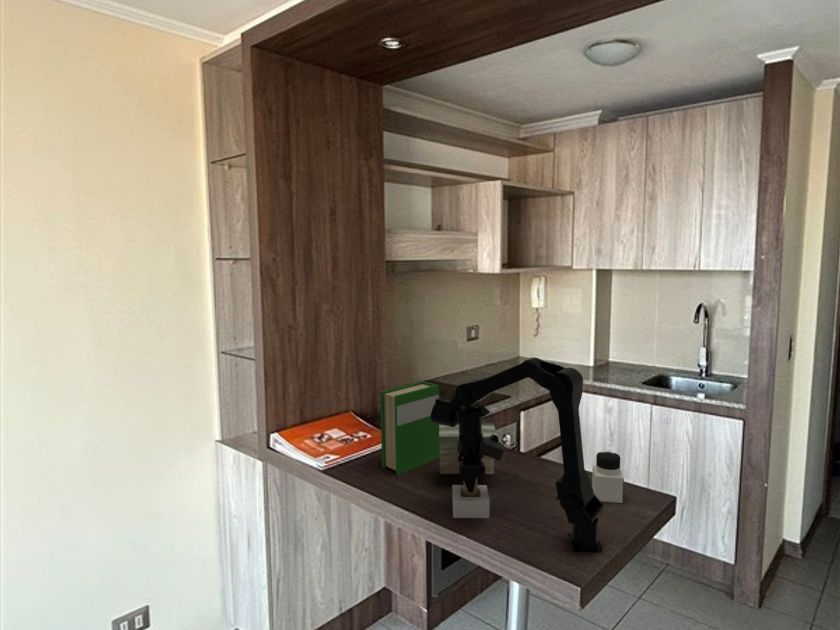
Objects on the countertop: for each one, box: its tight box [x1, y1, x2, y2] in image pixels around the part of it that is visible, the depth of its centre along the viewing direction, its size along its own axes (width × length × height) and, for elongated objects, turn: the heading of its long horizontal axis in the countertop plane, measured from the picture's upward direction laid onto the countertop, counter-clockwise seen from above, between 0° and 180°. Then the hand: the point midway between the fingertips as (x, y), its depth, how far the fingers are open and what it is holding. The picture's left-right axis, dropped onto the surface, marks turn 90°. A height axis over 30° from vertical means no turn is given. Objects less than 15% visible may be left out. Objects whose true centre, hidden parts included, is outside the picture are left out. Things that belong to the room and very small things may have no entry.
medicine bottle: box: [591, 450, 625, 504], centre depth 147 cm, size 7×7×12 cm
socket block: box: [452, 484, 490, 519], centre depth 141 cm, size 9×9×4 cm
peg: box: [463, 477, 478, 497], centre depth 141 cm, size 4×4×9 cm
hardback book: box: [379, 380, 440, 475], centre depth 171 cm, size 18×7×24 cm, turn 134°
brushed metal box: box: [439, 422, 498, 475], centre depth 158 cm, size 12×16×15 cm
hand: (470, 489), depth 141 cm, fingers closed on peg, 3 cm apart
